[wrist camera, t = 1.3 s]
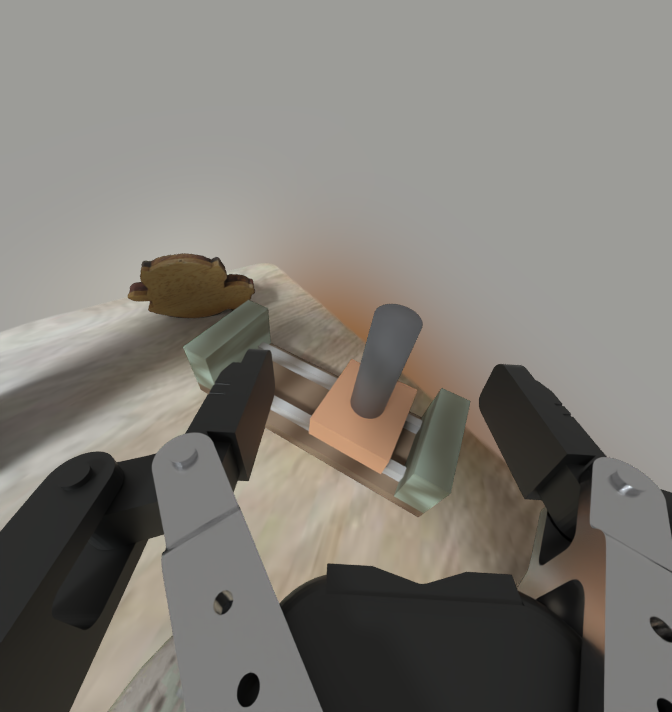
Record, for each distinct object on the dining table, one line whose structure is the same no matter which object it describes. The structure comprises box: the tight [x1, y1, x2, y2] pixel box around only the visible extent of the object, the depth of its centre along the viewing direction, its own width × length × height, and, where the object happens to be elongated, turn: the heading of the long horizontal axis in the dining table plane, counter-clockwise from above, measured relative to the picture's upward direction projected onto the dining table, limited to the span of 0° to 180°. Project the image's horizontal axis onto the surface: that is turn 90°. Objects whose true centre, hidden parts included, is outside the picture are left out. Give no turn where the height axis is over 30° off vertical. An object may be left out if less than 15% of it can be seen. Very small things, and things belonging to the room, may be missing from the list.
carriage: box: [309, 304, 423, 474], centre depth 25 cm, size 8×9×14 cm
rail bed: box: [183, 300, 470, 517], centre depth 31 cm, size 28×10×8 cm, turn 62°
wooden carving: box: [128, 254, 255, 318], centre depth 39 cm, size 16×5×10 cm, turn 112°
